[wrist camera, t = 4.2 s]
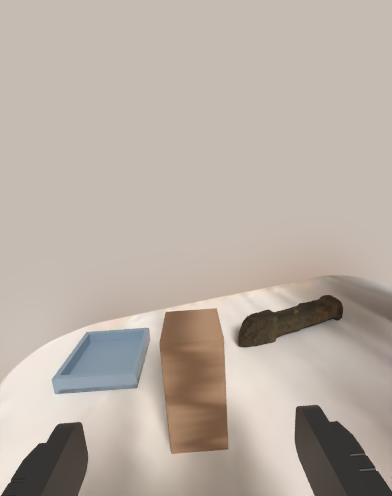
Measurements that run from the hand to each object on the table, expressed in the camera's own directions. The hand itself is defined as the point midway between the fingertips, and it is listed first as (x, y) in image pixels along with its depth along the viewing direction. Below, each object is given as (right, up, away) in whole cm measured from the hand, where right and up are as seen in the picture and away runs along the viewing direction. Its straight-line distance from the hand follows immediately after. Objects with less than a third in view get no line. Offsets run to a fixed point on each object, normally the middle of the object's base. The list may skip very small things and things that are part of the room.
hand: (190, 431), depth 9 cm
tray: (-12, -9, +24) cm, 28 cm away
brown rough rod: (+15, -7, +29) cm, 33 cm away
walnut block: (0, -11, +15) cm, 18 cm away
